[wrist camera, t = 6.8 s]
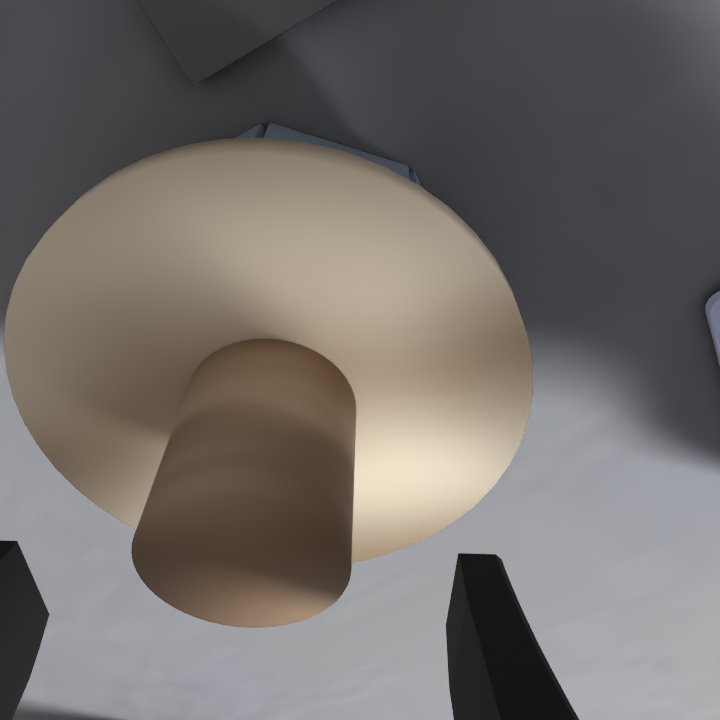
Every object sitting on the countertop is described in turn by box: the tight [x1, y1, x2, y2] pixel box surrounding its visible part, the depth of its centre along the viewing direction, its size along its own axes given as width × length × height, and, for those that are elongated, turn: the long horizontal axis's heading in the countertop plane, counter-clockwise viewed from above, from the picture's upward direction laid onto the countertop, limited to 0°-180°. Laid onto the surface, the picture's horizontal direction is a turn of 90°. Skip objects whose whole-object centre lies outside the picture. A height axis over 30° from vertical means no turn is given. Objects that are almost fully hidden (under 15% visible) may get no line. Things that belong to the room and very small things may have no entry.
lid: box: [4, 138, 533, 628], centre depth 13 cm, size 11×11×5 cm
